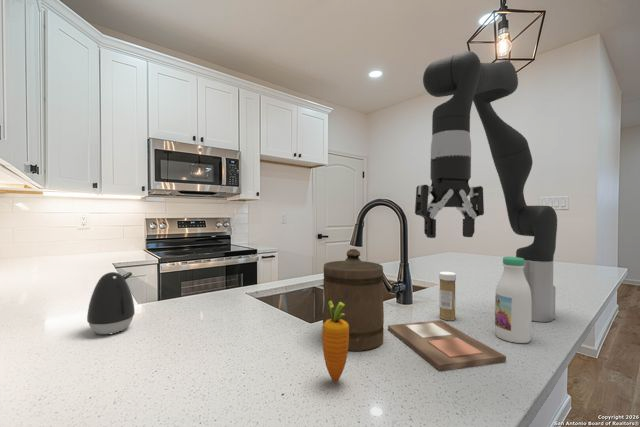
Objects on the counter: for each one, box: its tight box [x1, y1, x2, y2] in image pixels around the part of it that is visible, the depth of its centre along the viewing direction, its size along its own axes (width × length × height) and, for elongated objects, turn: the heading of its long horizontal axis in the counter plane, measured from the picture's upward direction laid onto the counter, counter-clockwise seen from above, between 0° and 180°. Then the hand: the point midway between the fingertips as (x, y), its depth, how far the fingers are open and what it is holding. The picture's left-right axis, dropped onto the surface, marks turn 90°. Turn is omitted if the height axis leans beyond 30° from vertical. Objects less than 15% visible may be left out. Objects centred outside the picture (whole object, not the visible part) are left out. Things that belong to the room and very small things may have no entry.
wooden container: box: [322, 248, 385, 352], centre depth 77 cm, size 15×15×22 cm
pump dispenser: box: [86, 271, 136, 335], centre depth 81 cm, size 10×10×15 cm
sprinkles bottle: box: [438, 271, 457, 322], centre depth 92 cm, size 5×5×13 cm
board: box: [387, 319, 507, 372], centre depth 74 cm, size 16×22×2 cm
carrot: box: [321, 301, 349, 383], centre depth 57 cm, size 5×5×15 cm
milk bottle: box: [494, 256, 532, 344], centre depth 78 cm, size 8×8×20 cm
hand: (449, 237), depth 63 cm, fingers open, 8 cm apart
